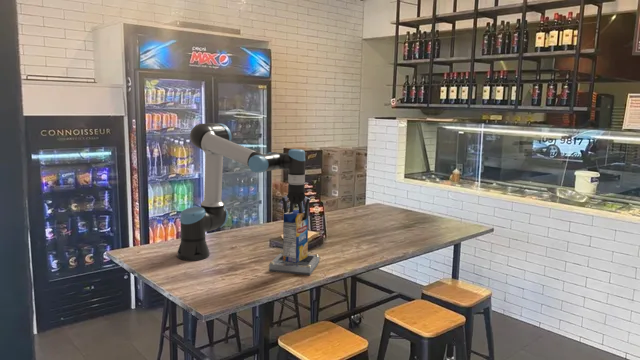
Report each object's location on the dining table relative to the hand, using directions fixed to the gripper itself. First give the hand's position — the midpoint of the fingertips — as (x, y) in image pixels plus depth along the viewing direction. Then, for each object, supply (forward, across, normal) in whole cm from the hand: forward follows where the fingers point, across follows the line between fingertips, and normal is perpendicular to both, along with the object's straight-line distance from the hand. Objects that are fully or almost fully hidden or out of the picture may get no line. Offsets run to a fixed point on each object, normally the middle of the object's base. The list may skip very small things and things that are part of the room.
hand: (295, 233), depth 225 cm
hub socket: (+16, 0, 0) cm, 16 cm away
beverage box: (+12, 0, 0) cm, 12 cm away
